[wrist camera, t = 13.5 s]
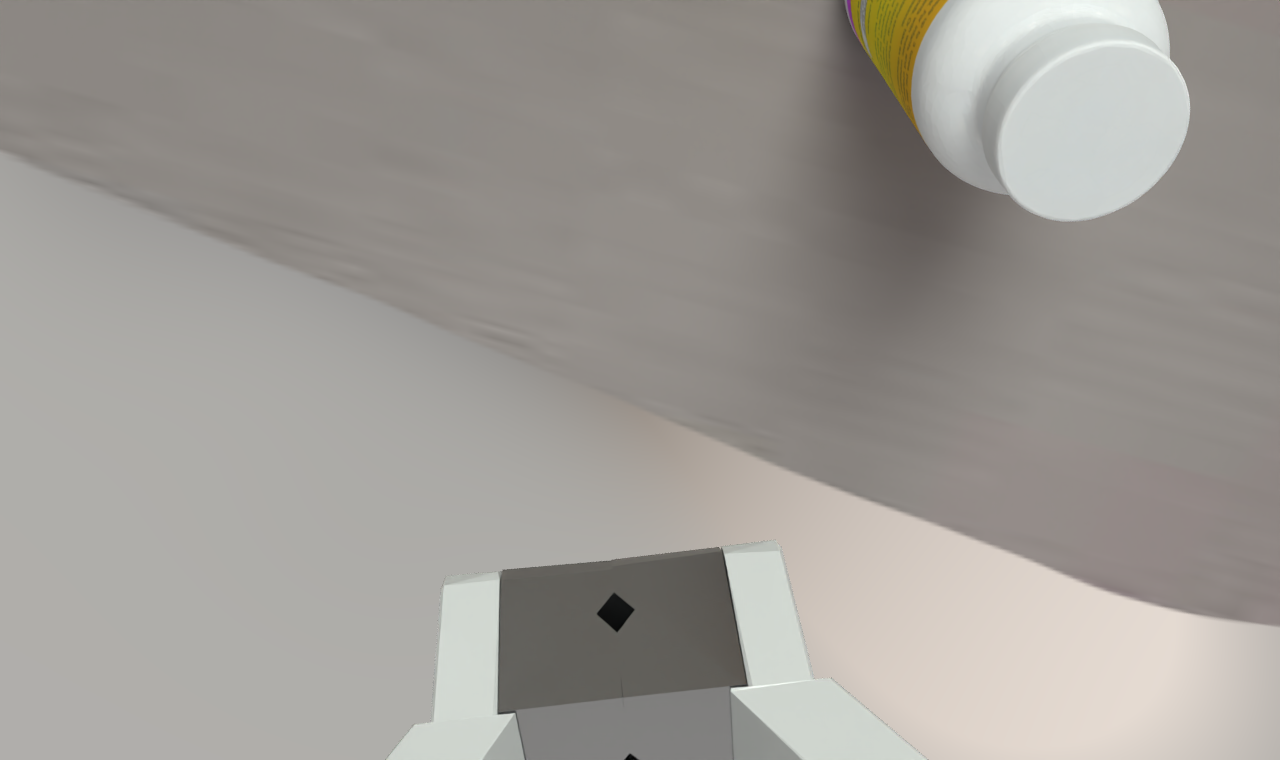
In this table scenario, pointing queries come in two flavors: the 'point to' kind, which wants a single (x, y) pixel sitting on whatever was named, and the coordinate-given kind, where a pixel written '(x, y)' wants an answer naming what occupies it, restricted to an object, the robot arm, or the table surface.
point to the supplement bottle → (1036, 94)
